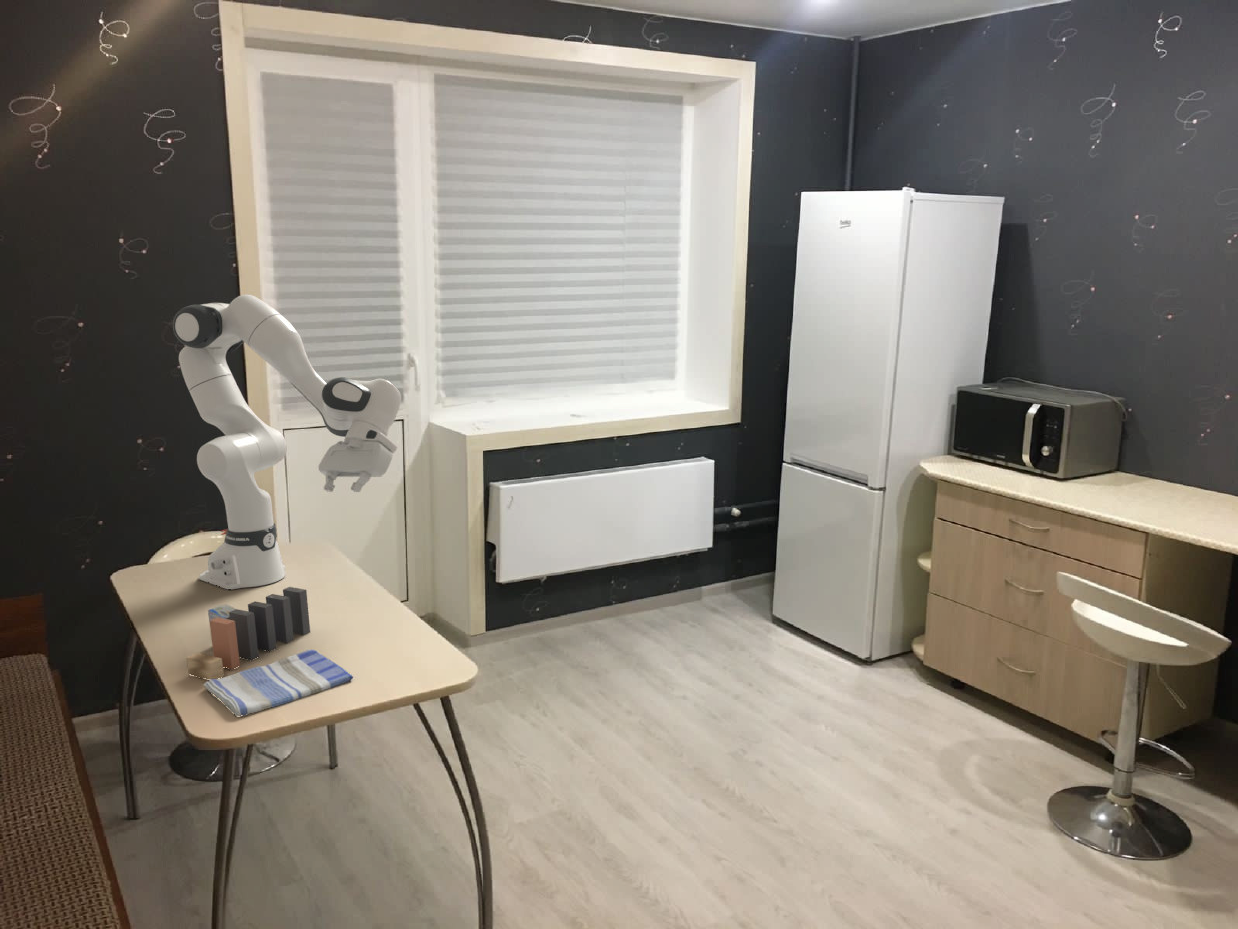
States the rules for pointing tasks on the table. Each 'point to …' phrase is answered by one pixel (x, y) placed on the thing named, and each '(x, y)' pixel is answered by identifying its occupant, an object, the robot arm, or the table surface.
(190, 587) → the table surface
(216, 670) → the end block
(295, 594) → the domino
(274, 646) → the domino
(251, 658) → the domino
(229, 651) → the domino
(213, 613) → the medicine box
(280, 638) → the domino
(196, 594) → the table surface
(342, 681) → the dish towel
